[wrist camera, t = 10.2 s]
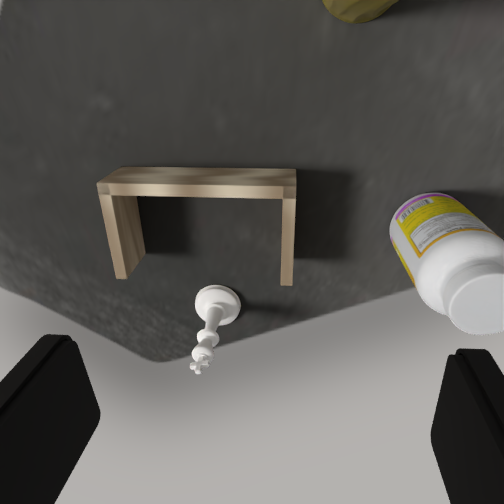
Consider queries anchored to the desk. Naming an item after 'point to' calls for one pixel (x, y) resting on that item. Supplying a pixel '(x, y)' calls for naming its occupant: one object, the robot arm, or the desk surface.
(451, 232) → the supplement bottle
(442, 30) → the desk surface
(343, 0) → the vase
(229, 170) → the open-side wooden frame
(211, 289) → the chess piece
